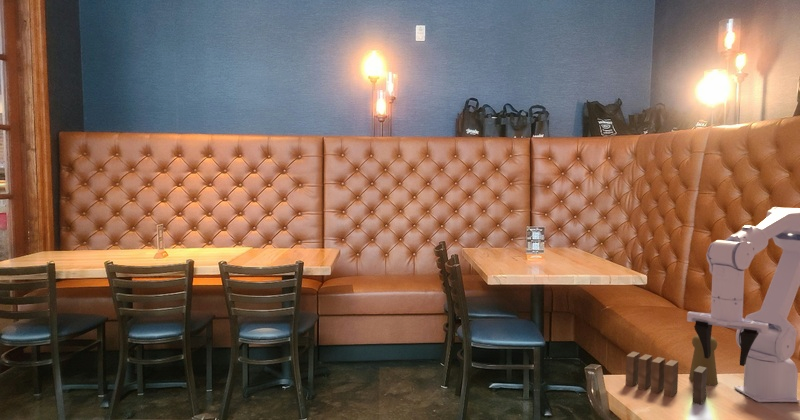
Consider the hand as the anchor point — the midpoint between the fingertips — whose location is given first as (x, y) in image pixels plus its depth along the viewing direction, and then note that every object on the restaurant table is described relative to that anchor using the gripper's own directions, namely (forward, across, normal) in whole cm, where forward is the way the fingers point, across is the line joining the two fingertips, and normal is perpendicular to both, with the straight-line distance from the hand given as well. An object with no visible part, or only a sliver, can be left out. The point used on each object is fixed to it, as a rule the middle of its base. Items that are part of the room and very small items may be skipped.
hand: (724, 360), depth 110 cm
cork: (+10, -7, +14) cm, 19 cm away
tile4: (+10, -16, 0) cm, 19 cm away
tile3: (+10, -13, 0) cm, 16 cm away
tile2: (+10, -10, 0) cm, 14 cm away
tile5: (+10, -19, 0) cm, 21 cm away
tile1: (+10, -4, 0) cm, 11 cm away
